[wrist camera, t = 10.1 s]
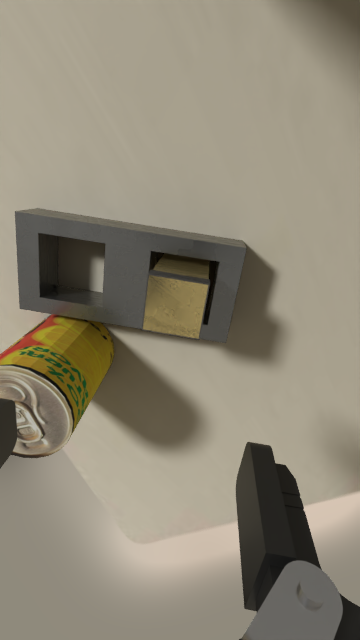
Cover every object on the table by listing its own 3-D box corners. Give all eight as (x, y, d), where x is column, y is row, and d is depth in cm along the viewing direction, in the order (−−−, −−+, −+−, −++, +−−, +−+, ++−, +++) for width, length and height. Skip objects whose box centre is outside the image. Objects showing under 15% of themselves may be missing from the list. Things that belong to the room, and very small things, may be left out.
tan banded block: (164, 251, 32) (147, 273, 24) (210, 258, 32) (209, 283, 24) (158, 295, 34) (141, 330, 26) (202, 302, 34) (199, 340, 26)
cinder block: (37, 208, 32) (14, 211, 28) (242, 240, 31) (246, 247, 28) (39, 295, 35) (19, 308, 32) (224, 326, 35) (225, 343, 31)
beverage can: (88, 297, 35) (31, 348, 24) (128, 366, 38) (93, 441, 27) (21, 327, 37) (-60, 387, 26) (63, 390, 40) (6, 469, 29)
